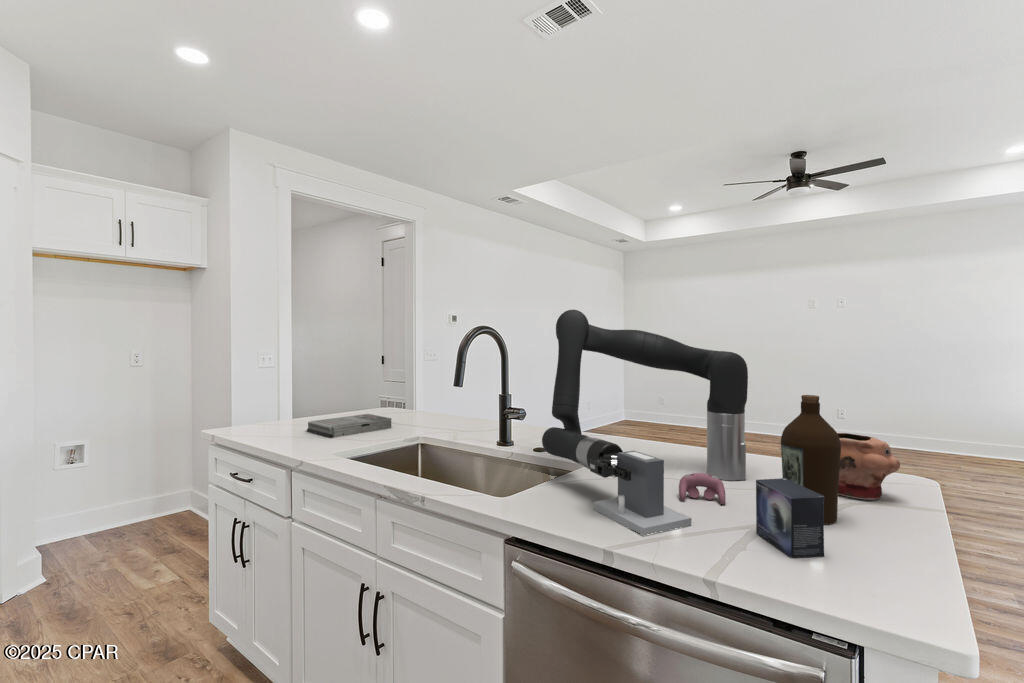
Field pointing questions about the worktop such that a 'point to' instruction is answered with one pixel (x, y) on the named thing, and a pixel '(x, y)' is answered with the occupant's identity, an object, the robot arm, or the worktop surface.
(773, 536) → the small box
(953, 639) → the worktop surface
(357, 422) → the hard drive
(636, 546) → the worktop surface
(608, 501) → the tray
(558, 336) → the robot arm
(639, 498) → the block
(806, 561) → the worktop surface
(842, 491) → the decorative planter
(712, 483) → the video game controller
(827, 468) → the olive oil
